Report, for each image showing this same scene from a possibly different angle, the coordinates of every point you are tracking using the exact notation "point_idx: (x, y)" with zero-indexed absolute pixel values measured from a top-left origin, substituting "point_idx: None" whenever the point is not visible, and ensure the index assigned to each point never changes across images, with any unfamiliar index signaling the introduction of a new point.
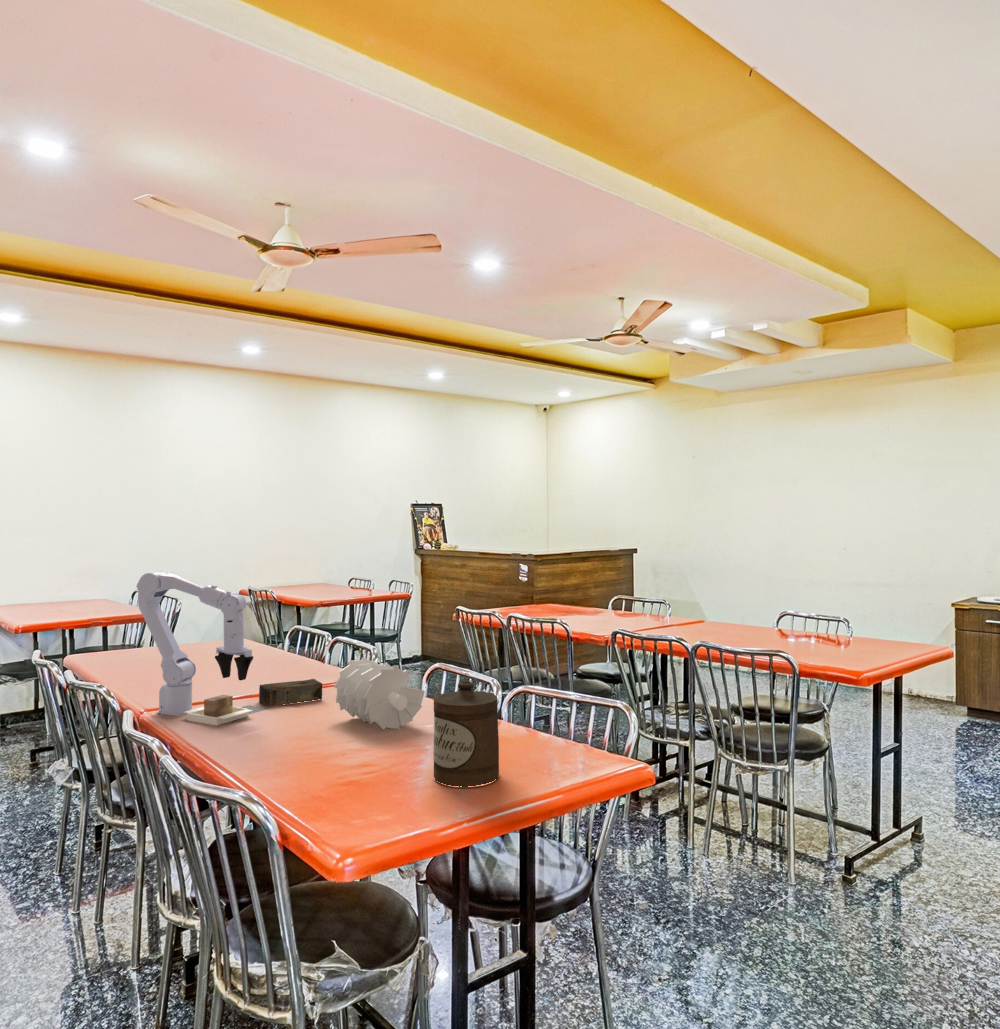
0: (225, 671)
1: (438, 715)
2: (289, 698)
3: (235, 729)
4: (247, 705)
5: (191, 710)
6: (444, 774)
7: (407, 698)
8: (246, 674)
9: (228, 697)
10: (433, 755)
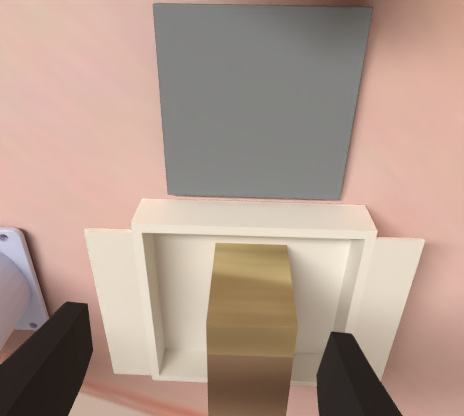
0: (62, 395)
1: None
2: None
3: (436, 352)
4: (154, 6)
5: (122, 350)
6: None
7: None
8: (373, 375)
9: (294, 349)
10: None
